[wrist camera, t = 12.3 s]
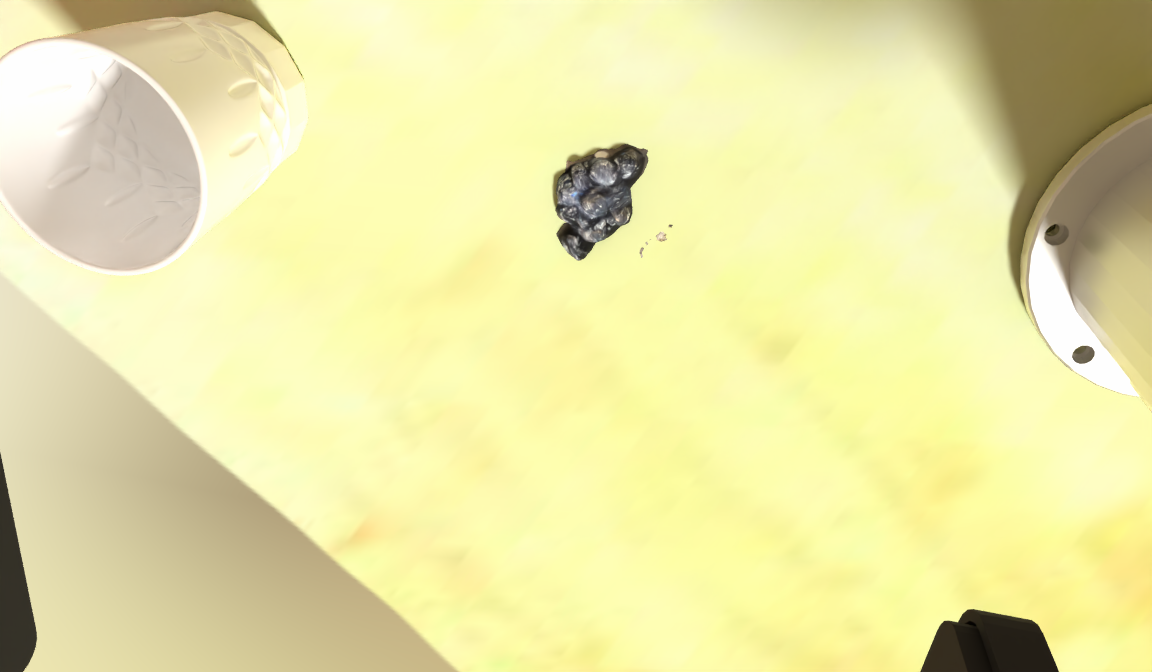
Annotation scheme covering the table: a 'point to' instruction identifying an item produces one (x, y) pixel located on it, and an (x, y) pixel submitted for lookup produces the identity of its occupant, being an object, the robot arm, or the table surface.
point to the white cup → (143, 134)
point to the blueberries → (598, 197)
